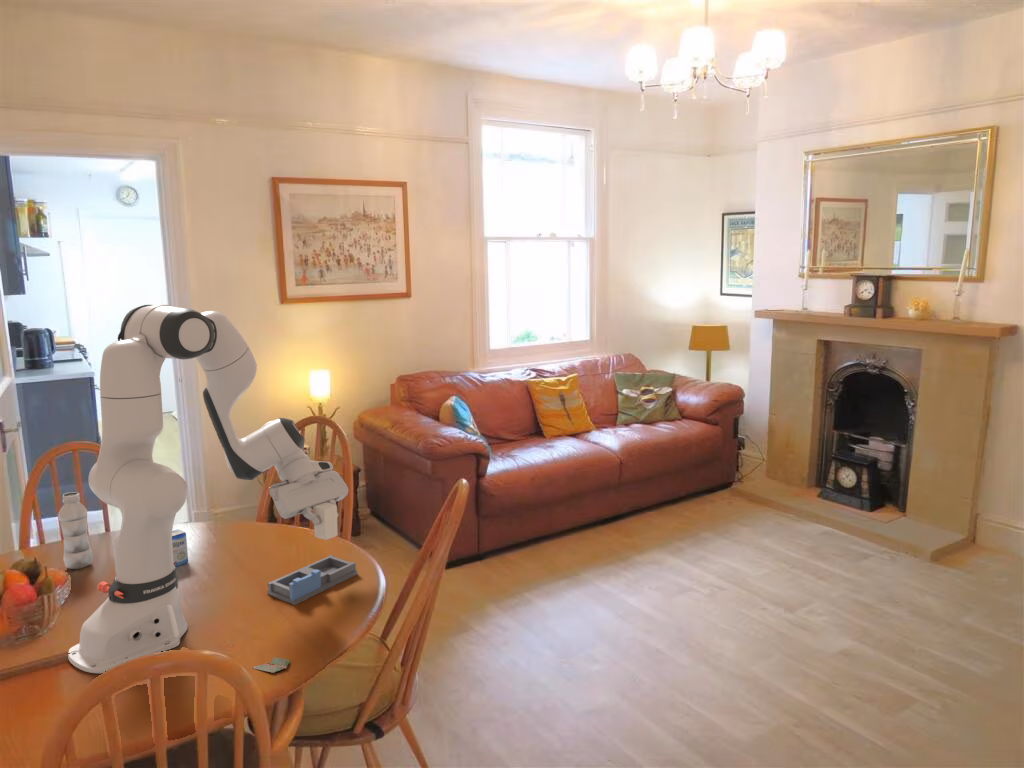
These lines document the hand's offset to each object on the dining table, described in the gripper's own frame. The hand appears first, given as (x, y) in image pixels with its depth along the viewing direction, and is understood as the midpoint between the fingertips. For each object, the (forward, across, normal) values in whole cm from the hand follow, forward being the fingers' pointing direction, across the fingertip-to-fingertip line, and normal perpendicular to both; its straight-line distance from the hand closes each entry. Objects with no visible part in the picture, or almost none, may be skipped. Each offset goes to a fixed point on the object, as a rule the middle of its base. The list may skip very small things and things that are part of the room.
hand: (327, 520), depth 178 cm
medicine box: (-18, -18, +40) cm, 47 cm away
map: (+22, -34, +2) cm, 41 cm away
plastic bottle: (-31, -32, +54) cm, 70 cm away
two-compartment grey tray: (+10, -4, +11) cm, 16 cm away
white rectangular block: (+2, 0, +3) cm, 4 cm away
